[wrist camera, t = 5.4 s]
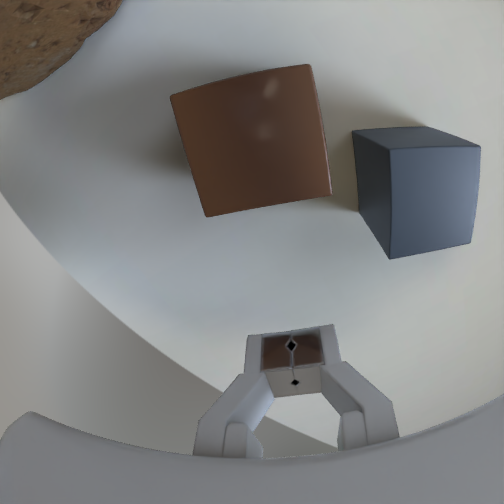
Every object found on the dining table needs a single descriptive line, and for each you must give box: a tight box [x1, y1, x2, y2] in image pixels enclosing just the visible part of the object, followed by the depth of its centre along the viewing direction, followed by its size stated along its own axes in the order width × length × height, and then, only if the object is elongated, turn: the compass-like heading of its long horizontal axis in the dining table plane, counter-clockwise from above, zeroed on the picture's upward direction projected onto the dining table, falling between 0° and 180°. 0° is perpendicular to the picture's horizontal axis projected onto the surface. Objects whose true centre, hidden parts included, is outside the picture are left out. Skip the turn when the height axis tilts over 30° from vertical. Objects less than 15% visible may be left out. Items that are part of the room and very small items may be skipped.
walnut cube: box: [170, 64, 333, 217], centre depth 10 cm, size 4×4×4 cm
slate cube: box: [352, 127, 481, 259], centre depth 10 cm, size 4×4×4 cm
